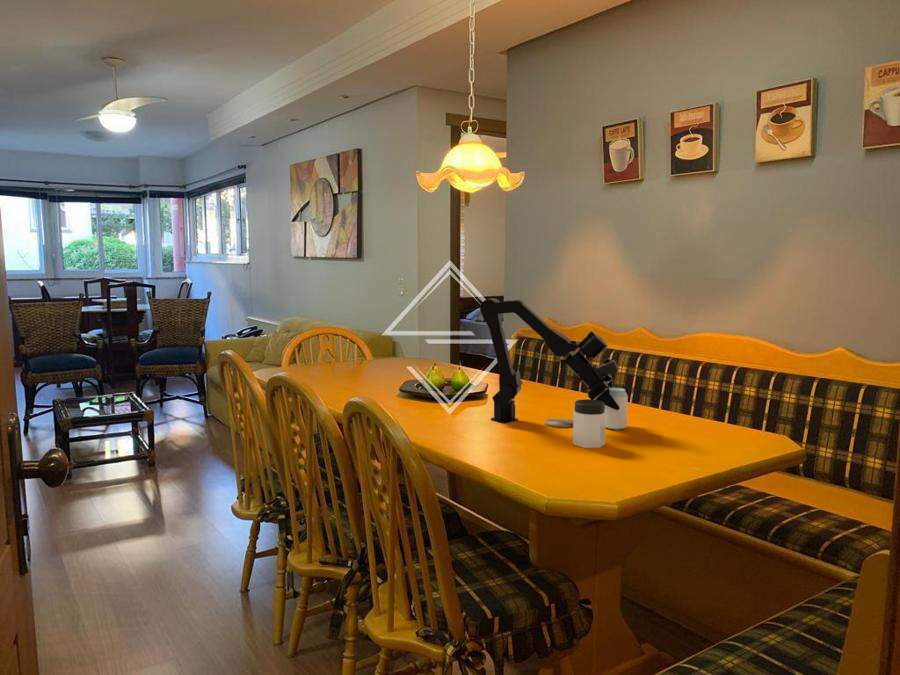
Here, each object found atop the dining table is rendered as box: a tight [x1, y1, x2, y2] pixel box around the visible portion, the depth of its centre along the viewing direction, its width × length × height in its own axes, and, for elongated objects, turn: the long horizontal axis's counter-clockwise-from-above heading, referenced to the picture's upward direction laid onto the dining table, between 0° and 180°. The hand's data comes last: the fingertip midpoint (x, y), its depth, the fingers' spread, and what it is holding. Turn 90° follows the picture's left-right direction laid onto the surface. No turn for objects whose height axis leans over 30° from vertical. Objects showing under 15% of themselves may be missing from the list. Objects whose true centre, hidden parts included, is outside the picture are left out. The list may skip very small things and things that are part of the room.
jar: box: [572, 398, 606, 449], centre depth 188 cm, size 9×8×12 cm
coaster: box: [544, 417, 573, 429], centre depth 212 cm, size 10×10×1 cm
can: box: [605, 387, 629, 431], centre depth 206 cm, size 7×7×12 cm
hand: (619, 406), depth 206 cm, fingers open, 9 cm apart
